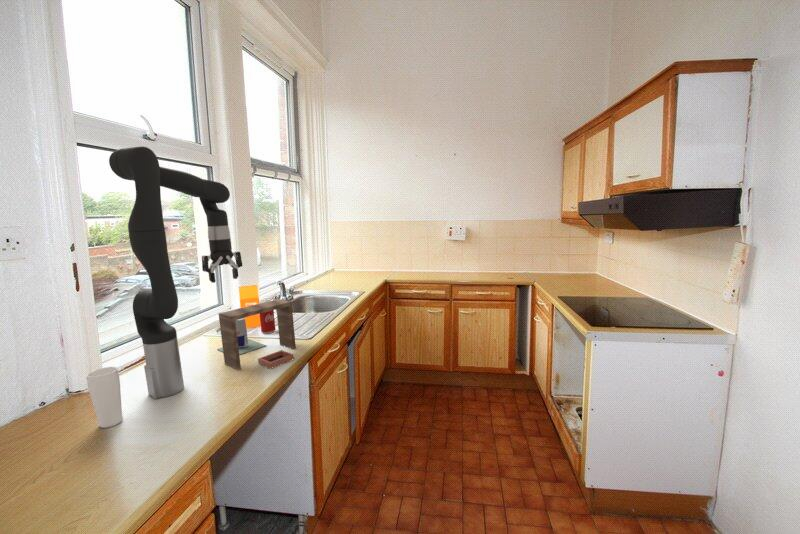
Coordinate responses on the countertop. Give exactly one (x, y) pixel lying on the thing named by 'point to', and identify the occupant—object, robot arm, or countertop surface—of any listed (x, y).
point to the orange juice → (250, 303)
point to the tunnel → (229, 317)
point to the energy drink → (241, 333)
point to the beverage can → (267, 322)
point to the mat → (251, 346)
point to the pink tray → (275, 359)
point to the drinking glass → (106, 395)
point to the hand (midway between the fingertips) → (224, 280)
